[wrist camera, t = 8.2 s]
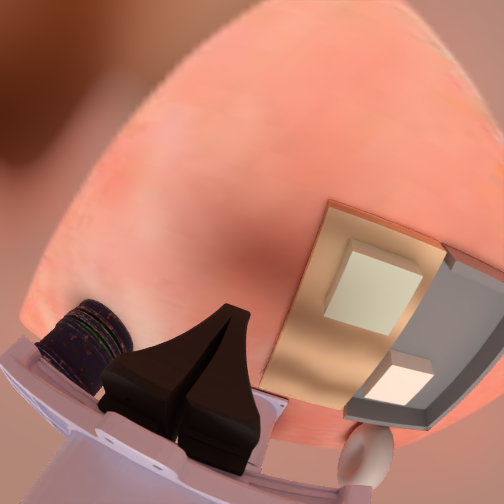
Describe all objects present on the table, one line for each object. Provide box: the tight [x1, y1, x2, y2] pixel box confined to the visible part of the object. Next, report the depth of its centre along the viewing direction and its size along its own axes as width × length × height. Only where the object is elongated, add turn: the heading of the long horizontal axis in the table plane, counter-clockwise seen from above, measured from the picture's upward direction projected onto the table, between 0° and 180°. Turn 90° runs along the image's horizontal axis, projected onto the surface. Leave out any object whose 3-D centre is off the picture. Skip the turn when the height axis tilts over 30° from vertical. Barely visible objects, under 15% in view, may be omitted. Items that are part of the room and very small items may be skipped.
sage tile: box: [323, 238, 423, 336], centre depth 17 cm, size 5×5×2 cm
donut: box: [337, 423, 394, 490], centre depth 23 cm, size 10×4×10 cm, turn 167°
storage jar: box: [34, 299, 133, 397], centre depth 26 cm, size 10×10×15 cm
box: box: [343, 243, 504, 431], centre depth 20 cm, size 19×12×3 cm, turn 167°
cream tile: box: [364, 349, 434, 405], centre depth 22 cm, size 5×5×2 cm
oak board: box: [258, 199, 447, 410], centre depth 21 cm, size 19×9×2 cm, turn 167°
